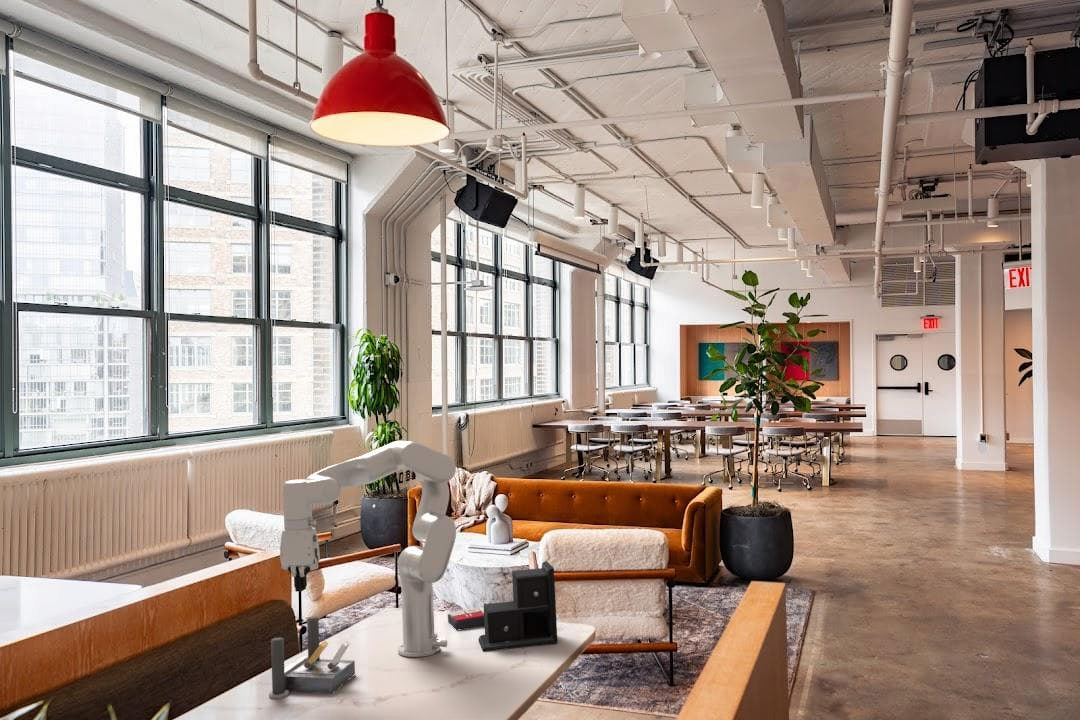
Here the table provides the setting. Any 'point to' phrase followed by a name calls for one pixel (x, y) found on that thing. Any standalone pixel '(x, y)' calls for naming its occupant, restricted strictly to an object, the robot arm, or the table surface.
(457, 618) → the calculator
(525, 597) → the black drawer organizer
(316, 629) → the post far
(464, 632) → the table surface
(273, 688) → the post near
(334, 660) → the paddle white
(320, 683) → the breaker panel
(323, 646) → the paddle amber
